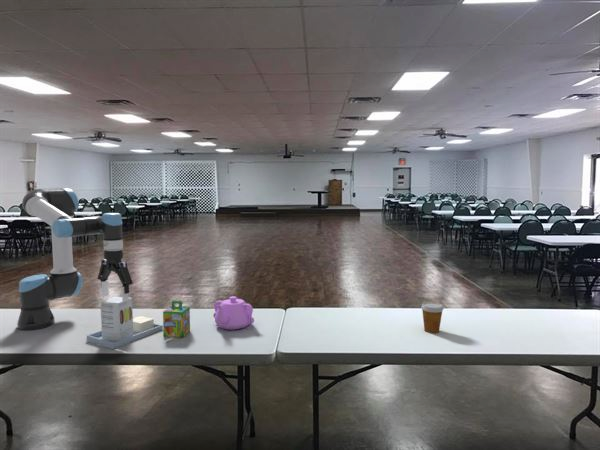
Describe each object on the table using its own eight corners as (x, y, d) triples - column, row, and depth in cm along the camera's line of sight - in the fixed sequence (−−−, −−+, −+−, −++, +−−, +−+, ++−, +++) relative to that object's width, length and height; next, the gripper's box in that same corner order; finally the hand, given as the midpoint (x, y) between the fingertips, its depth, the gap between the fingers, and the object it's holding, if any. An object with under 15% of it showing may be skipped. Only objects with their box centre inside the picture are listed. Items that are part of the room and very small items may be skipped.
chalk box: (163, 337, 185) (161, 304, 184) (171, 330, 194) (170, 298, 193) (183, 338, 184) (182, 304, 183) (190, 330, 194) (189, 299, 192)
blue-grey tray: (86, 341, 181) (86, 335, 181) (136, 324, 203) (136, 318, 203) (113, 349, 172) (113, 343, 172) (162, 330, 194) (162, 325, 193)
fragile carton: (128, 329, 194) (127, 320, 193) (140, 325, 200) (140, 315, 199) (141, 333, 189) (140, 323, 189) (153, 328, 195) (153, 318, 195)
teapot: (197, 331, 192) (196, 302, 191) (223, 317, 212) (222, 290, 211) (239, 338, 184) (239, 307, 182) (262, 322, 204) (262, 294, 203)
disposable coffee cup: (444, 329, 193) (444, 303, 192) (441, 335, 185) (442, 309, 184) (422, 326, 197) (423, 300, 196) (419, 332, 189) (419, 306, 188)
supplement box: (119, 342, 178) (117, 303, 176) (101, 340, 181) (99, 301, 179) (134, 334, 187) (132, 297, 186) (116, 332, 190) (114, 295, 188)
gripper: (87, 248, 183) (89, 295, 186) (124, 253, 171) (126, 305, 173) (103, 245, 190) (105, 292, 192) (140, 251, 177) (142, 300, 179)
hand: (115, 298), depth 183 cm, fingers open, 13 cm apart
